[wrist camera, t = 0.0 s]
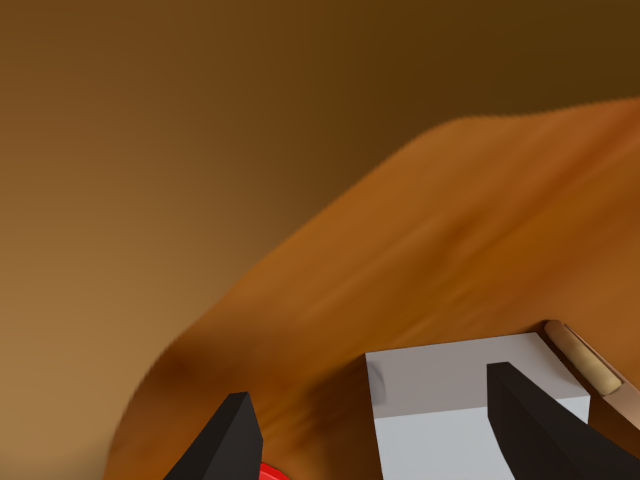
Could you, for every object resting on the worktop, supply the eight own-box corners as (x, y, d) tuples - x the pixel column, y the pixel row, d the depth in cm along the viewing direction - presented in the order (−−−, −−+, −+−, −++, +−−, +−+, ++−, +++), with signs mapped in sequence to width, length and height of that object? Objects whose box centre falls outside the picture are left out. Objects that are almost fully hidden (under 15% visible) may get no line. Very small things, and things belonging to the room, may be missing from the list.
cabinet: (529, 505, 27) (570, 590, 23) (390, 517, 28) (402, 601, 23) (535, 332, 22) (590, 395, 17) (365, 352, 23) (373, 418, 18)
